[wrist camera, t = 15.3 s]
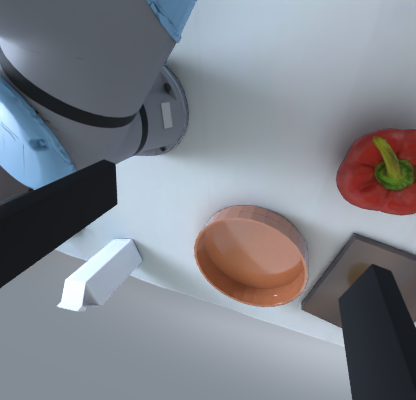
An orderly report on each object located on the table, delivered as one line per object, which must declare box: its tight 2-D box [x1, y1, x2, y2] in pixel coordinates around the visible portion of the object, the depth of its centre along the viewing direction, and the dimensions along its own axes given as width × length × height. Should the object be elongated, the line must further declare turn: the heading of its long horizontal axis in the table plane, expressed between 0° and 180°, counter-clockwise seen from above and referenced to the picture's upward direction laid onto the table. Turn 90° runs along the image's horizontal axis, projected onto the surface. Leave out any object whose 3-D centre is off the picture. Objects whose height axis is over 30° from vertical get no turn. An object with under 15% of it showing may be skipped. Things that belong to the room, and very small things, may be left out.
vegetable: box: [336, 128, 416, 215], centre depth 25 cm, size 11×10×10 cm
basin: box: [194, 205, 308, 307], centre depth 43 cm, size 21×21×4 cm
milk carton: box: [57, 239, 142, 311], centre depth 53 cm, size 7×7×19 cm
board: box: [301, 233, 416, 328], centre depth 38 cm, size 15×20×2 cm
